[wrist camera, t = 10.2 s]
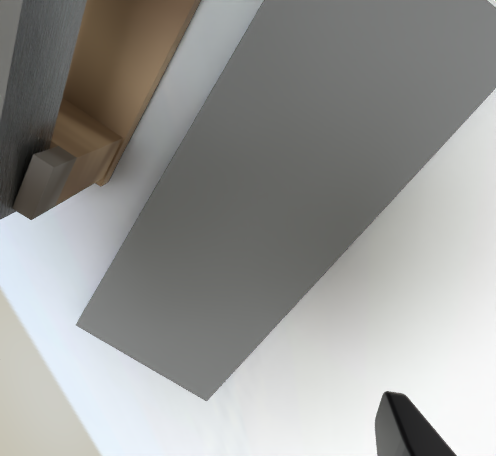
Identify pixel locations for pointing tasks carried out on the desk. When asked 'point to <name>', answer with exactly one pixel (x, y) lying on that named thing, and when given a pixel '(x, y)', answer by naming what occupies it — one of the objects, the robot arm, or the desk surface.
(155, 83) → the standards
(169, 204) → the mat
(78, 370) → the desk surface
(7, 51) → the rail
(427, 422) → the robot arm
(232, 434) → the desk surface
